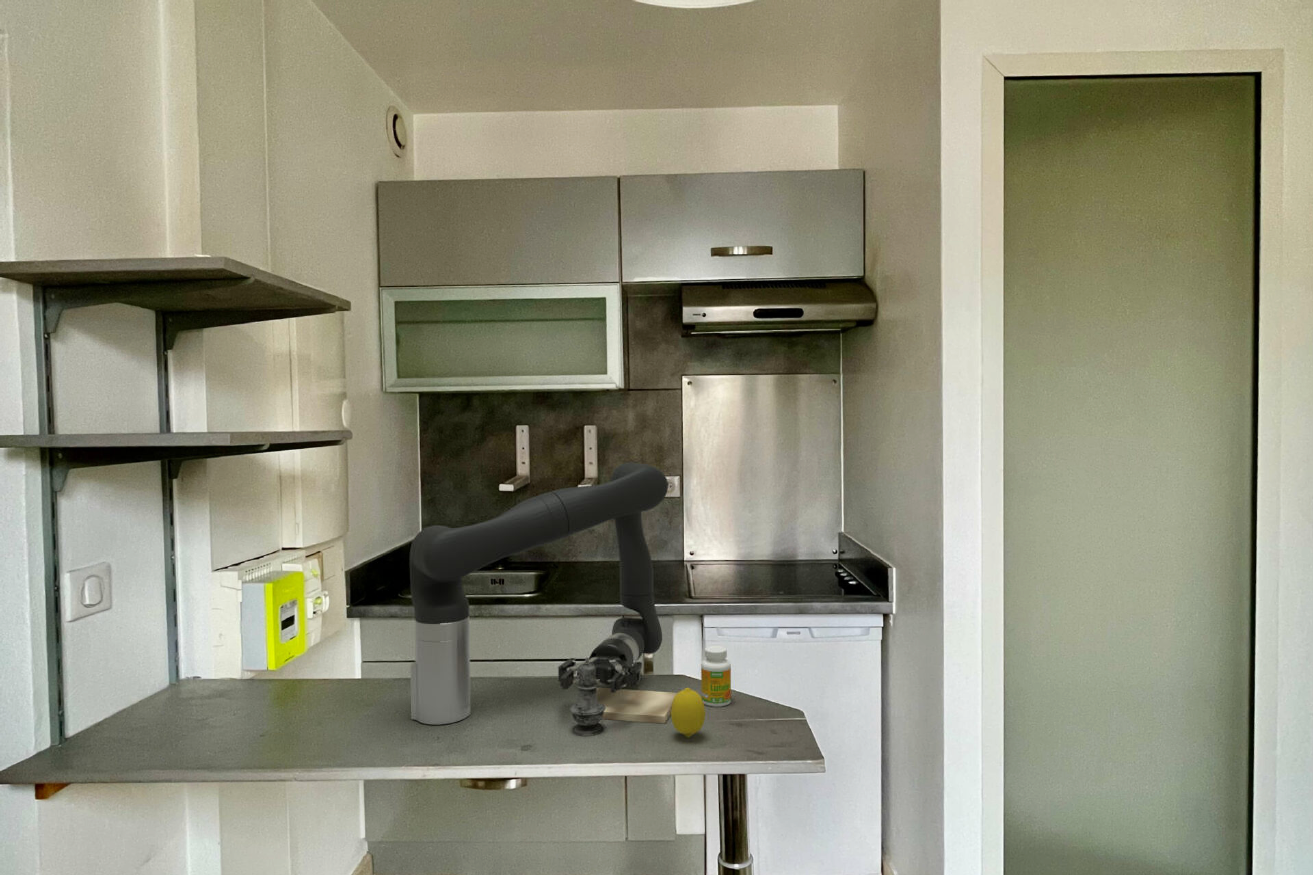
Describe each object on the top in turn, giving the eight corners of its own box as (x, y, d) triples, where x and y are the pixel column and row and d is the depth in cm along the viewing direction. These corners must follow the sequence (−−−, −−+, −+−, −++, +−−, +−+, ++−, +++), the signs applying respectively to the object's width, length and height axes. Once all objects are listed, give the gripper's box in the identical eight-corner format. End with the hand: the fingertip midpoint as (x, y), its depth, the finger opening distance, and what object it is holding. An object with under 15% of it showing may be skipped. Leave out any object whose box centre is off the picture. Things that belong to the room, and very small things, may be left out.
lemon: (666, 741, 122) (665, 691, 122) (677, 728, 127) (676, 680, 127) (699, 746, 120) (699, 695, 120) (709, 732, 125) (708, 684, 125)
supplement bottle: (709, 709, 136) (708, 654, 136) (696, 699, 141) (696, 646, 141) (736, 704, 138) (735, 651, 138) (723, 695, 143) (722, 643, 143)
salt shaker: (600, 737, 124) (599, 663, 124) (565, 735, 125) (564, 661, 125) (609, 723, 129) (608, 653, 129) (576, 721, 131) (575, 651, 131)
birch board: (575, 716, 133) (575, 709, 133) (596, 693, 145) (596, 687, 145) (664, 723, 129) (664, 716, 129) (678, 699, 141) (678, 692, 141)
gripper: (578, 635, 145) (547, 660, 129) (651, 639, 142) (629, 665, 126) (579, 675, 145) (548, 704, 129) (652, 679, 142) (629, 710, 126)
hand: (588, 685), depth 128 cm, fingers open, 8 cm apart
